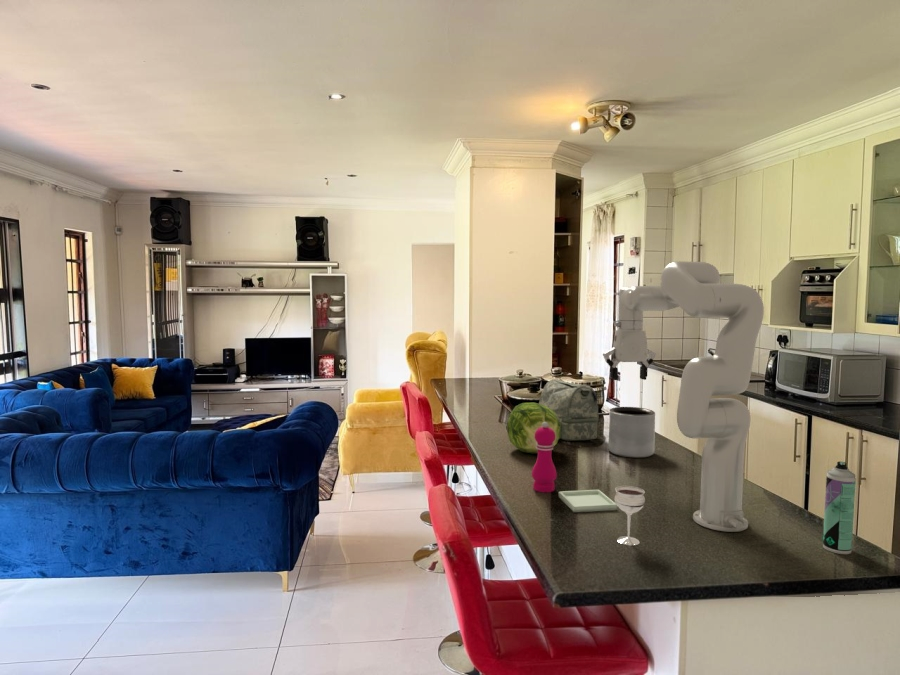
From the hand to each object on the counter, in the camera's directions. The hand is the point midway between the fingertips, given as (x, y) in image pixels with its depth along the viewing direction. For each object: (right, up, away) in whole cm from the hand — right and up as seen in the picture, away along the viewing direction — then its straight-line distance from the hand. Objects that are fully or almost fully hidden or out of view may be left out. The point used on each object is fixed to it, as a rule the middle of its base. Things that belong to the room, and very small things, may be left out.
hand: (628, 379), depth 188 cm
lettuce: (-26, -29, +25) cm, 46 cm away
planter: (+9, -29, +25) cm, 39 cm away
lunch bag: (-9, -27, +53) cm, 60 cm away
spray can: (+31, -35, -55) cm, 72 cm away
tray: (-20, -32, -27) cm, 46 cm away
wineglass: (-16, -34, -51) cm, 63 cm away
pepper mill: (-29, -31, -15) cm, 46 cm away
